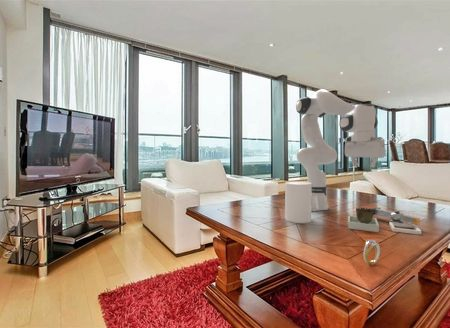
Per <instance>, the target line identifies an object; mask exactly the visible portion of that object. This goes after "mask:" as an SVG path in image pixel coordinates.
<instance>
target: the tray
mask: <svg viewBox="0 0 450 328" xmlns="http://www.w3.org/2000/svg"><path fill="white" fill-rule="evenodd" d="M347 216H348V217H347V222H348V223H347V229H350V230H358V231H366V232H375V233H376V232H377V233H379V231H380V224H379V221H378V219H377V217H376V218H375V217H373V219H372V221H371V222H370V223H369V224H365V223H361V222H359V221H358V219H357V215H356V216H355V215H347Z"/></svg>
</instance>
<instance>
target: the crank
mask: <svg viewBox="0 0 450 328" xmlns="http://www.w3.org/2000/svg"><path fill="white" fill-rule="evenodd" d="M369 209H372V211H373V210H374V212H373V216H377V217H378V216H379V217H381V218H385V219H386V218H387V219H390V220H391V219H392V220H395V221H402V222H403V223H405V224H414V225H416V226H419V225H420V224H421V223H420V221H421V220H420V219H421V218H420V217H417V216H412V215H407V214H405V213H403V212H401V211H400V210H394V211H390V210H385V209H382V208H381V207H370V208H369Z"/></svg>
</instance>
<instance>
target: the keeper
mask: <svg viewBox="0 0 450 328" xmlns="http://www.w3.org/2000/svg"><path fill="white" fill-rule="evenodd" d="M389 227H390V230H392V232H395V233H396V232H397V233H404V234H405V233H406V234H413V235H422V230H421V229H420V227H419V226H418V225H414V224H410V223H405V222H403V223H394V222H391V221H389ZM409 228H410V229H409Z"/></svg>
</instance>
